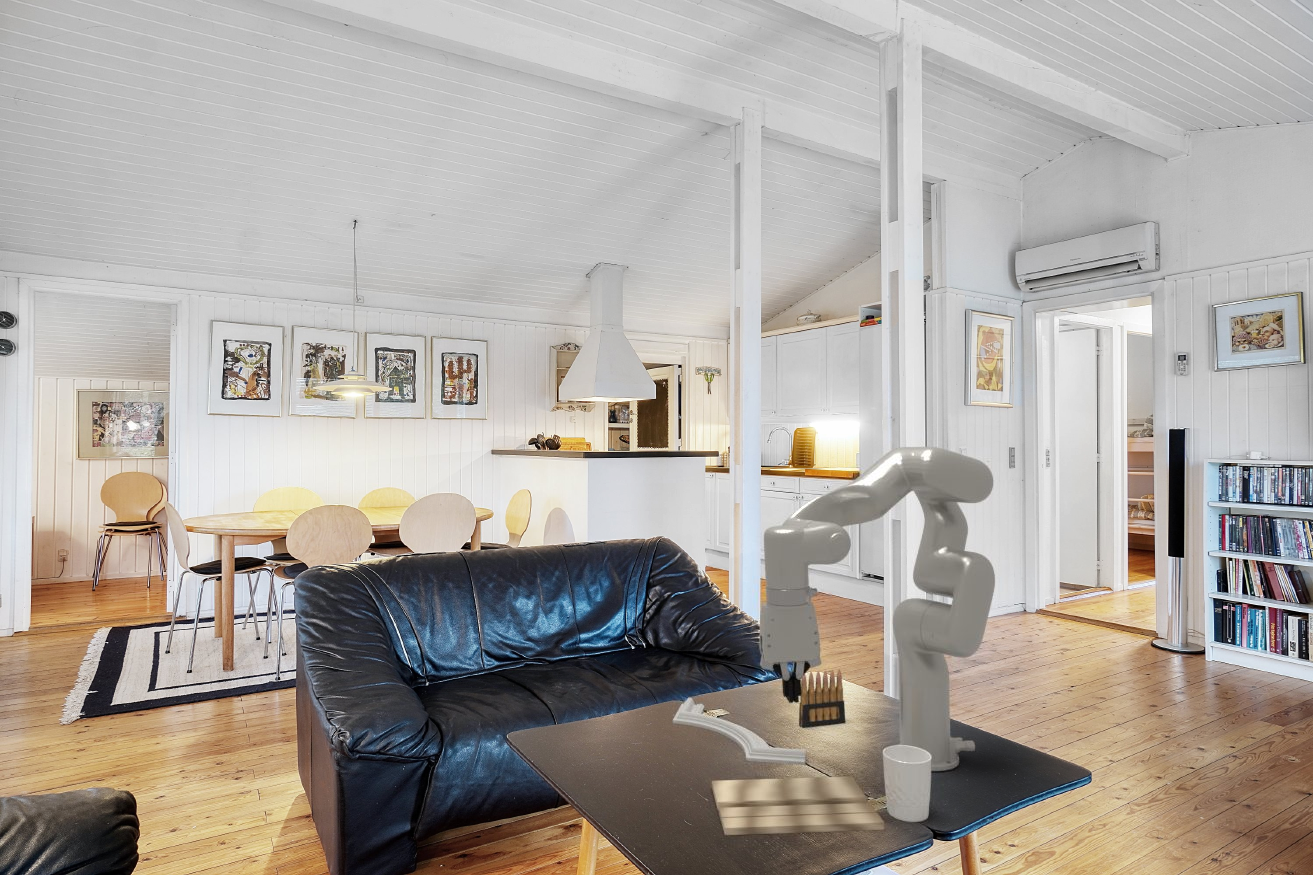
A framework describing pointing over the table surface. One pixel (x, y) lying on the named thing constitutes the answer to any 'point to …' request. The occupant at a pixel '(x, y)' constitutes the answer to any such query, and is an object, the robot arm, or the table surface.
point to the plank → (787, 792)
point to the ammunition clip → (821, 701)
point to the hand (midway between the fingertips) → (792, 699)
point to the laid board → (800, 819)
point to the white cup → (907, 782)
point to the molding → (738, 736)
